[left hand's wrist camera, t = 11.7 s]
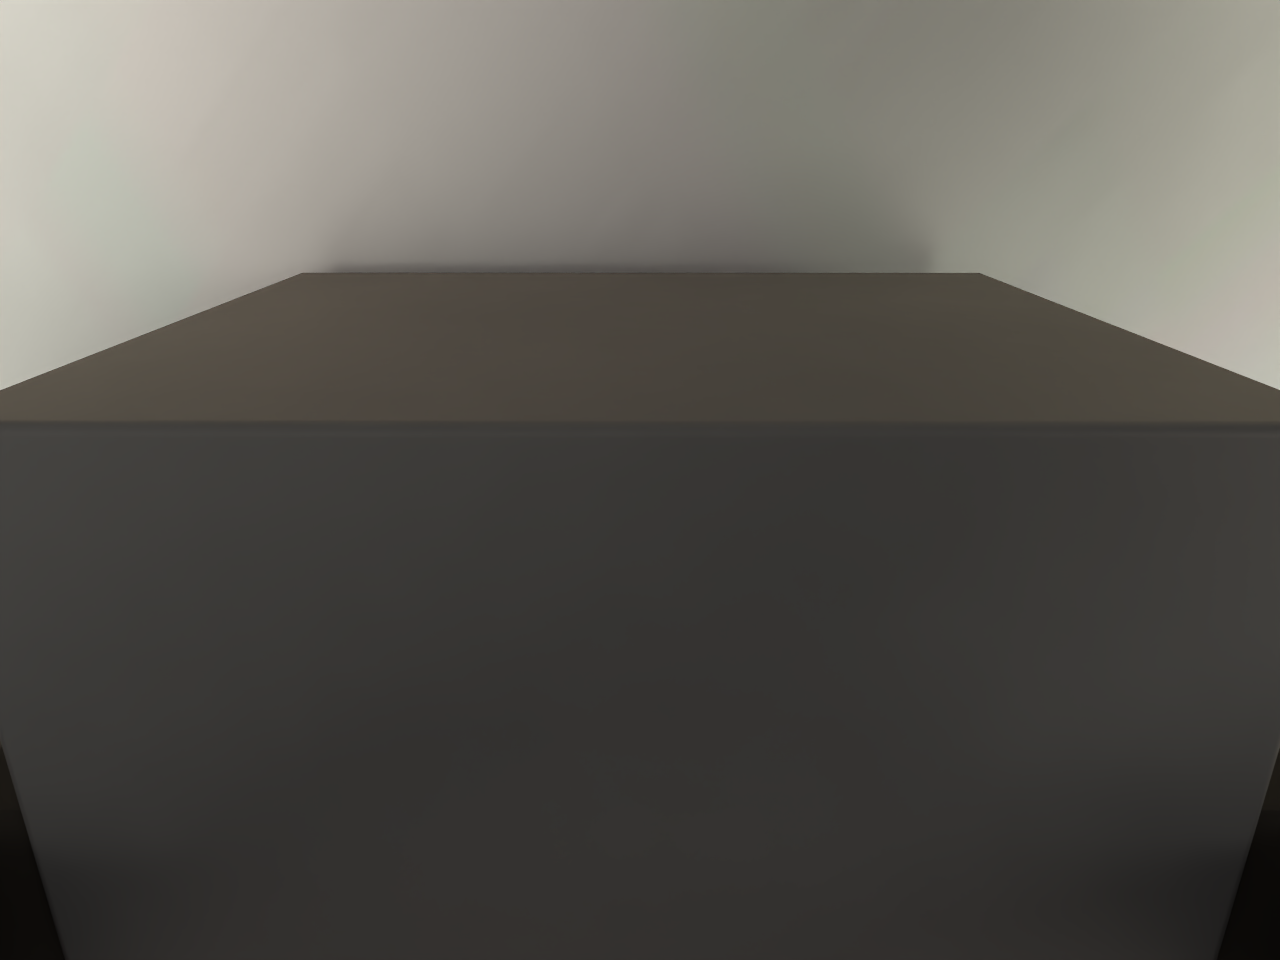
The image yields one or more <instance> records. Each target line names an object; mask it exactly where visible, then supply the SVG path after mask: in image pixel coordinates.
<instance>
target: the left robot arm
mask: <svg viewBox="0 0 1280 960" xmlns="http://www.w3.org/2000/svg"><path fill="white" fill-rule="evenodd" d="M0 960H65V958H64V955H63V951H62V948H61V945H60V941H59V938H58V934H57V931H56V928H55V924H54V921H53V918H52V914H51V911H50V907H49V904H48V901H47V897H46V894H45V890H44V887H43V884H42V880H41V877H40V873H39V870H38V867H37V863H36V860H35V857H34V853H33V850H32V846H31V843H30V840H29V836H28V833H27V829H26V826H25V823H24V819H23V816H22V813H21V809H20V806H19V802H18V799H17V796H16V792H15V789H14V785H13V782H12V779H11V775H10V772H9V769H8V765H7V762H6V758H5V755H4V752H3V748H2V745H1V741H0ZM1217 960H1280V749H1279V752H1278V755H1277V759H1276V762H1275V765H1274V769H1273V772H1272V775H1271V779H1270V782H1269V786H1268V789H1267V792H1266V796H1265V799H1264V802H1263V806H1262V809H1261V813H1260V816H1259V819H1258V823H1257V826H1256V829H1255V833H1254V836H1253V840H1252V843H1251V846H1250V850H1249V853H1248V856H1247V860H1246V863H1245V866H1244V870H1243V873H1242V877H1241V880H1240V883H1239V887H1238V890H1237V893H1236V897H1235V900H1234V904H1233V907H1232V910H1231V914H1230V917H1229V920H1228V924H1227V927H1226V931H1225V934H1224V937H1223V941H1222V944H1221V947H1220V951H1219V954H1218V957H1217Z"/></svg>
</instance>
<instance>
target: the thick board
mask: <svg viewBox="0 0 1280 960" xmlns="http://www.w3.org/2000/svg"><path fill="white" fill-rule="evenodd" d="M0 741H1V745H2V748H3V752H4V755H5V758H6V762H7V765H8V769H9V772H10V775H11V779H12V782H13V785H14V789H15V792H16V796H17V799H18V802H19V806H20V809H21V813H22V816H23V819H24V823H25V826H26V829H27V833H28V836H29V840H30V843H31V846H32V850H33V853H34V857H35V860H36V863H37V867H38V870H39V873H40V877H41V880H42V884H43V887H44V890H45V894H46V897H47V901H48V904H49V907H50V911H51V914H52V918H53V921H54V924H55V928H56V931H57V934H58V938H59V941H60V945H61V948H62V951H63V955H64V958H65V960H1217V957H1218V954H1219V951H1220V947H1221V944H1222V941H1223V937H1224V934H1225V931H1226V927H1227V924H1228V920H1229V917H1230V914H1231V910H1232V907H1233V904H1234V900H1235V897H1236V893H1237V890H1238V887H1239V883H1240V880H1241V877H1242V873H1243V870H1244V866H1245V863H1246V860H1247V856H1248V853H1249V850H1250V846H1251V843H1252V840H1253V836H1254V833H1255V829H1256V826H1257V823H1258V819H1259V816H1260V813H1261V809H1262V806H1263V802H1264V799H1265V796H1266V792H1267V789H1268V786H1269V782H1270V779H1271V775H1272V772H1273V769H1274V765H1275V762H1276V759H1277V755H1278V752H1279V749H1280V390H1278V389H1275V388H1273V387H1270V386H1268V385H1265V384H1263V383H1260V382H1257V381H1255V380H1252V379H1250V378H1247V377H1245V376H1242V375H1239V374H1237V373H1234V372H1232V371H1229V370H1227V369H1224V368H1221V367H1219V366H1216V365H1214V364H1211V363H1209V362H1206V361H1203V360H1201V359H1198V358H1196V357H1193V356H1191V355H1188V354H1186V353H1183V352H1180V351H1178V350H1175V349H1173V348H1170V347H1168V346H1165V345H1162V344H1160V343H1157V342H1155V341H1152V340H1150V339H1147V338H1144V337H1142V336H1139V335H1137V334H1134V333H1132V332H1129V331H1126V330H1124V329H1121V328H1119V327H1116V326H1114V325H1111V324H1109V323H1106V322H1103V321H1101V320H1098V319H1096V318H1093V317H1091V316H1088V315H1085V314H1083V313H1080V312H1078V311H1075V310H1073V309H1070V308H1067V307H1065V306H1062V305H1060V304H1057V303H1055V302H1052V301H1049V300H1047V299H1044V298H1042V297H1039V296H1037V295H1034V294H1032V293H1029V292H1026V291H1024V290H1021V289H1019V288H1016V287H1014V286H1011V285H1008V284H1006V283H1003V282H1001V281H998V280H996V279H993V278H990V277H988V276H985V275H983V274H980V273H301V274H298V275H296V276H293V277H291V278H288V279H286V280H283V281H280V282H278V283H275V284H273V285H270V286H268V287H265V288H262V289H260V290H257V291H255V292H252V293H250V294H247V295H244V296H242V297H239V298H237V299H234V300H232V301H229V302H227V303H224V304H221V305H219V306H216V307H214V308H211V309H209V310H206V311H203V312H201V313H198V314H196V315H193V316H191V317H188V318H185V319H183V320H180V321H178V322H175V323H173V324H170V325H167V326H165V327H162V328H160V329H157V330H155V331H152V332H149V333H147V334H144V335H142V336H139V337H137V338H134V339H131V340H129V341H126V342H124V343H121V344H119V345H116V346H113V347H111V348H108V349H106V350H103V351H101V352H98V353H95V354H93V355H90V356H88V357H85V358H83V359H80V360H77V361H75V362H72V363H70V364H67V365H65V366H62V367H59V368H57V369H54V370H52V371H49V372H47V373H44V374H42V375H39V376H36V377H34V378H31V379H29V380H26V381H24V382H21V383H18V384H16V385H13V386H11V387H8V388H6V389H3V390H0Z"/></svg>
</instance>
